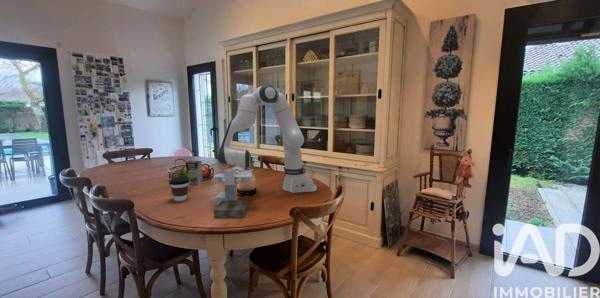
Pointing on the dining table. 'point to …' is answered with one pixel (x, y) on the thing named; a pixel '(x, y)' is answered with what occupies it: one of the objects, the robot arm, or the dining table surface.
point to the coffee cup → (179, 188)
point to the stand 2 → (231, 209)
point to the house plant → (183, 174)
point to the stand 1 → (223, 198)
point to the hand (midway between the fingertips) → (229, 182)
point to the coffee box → (194, 172)
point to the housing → (230, 183)
